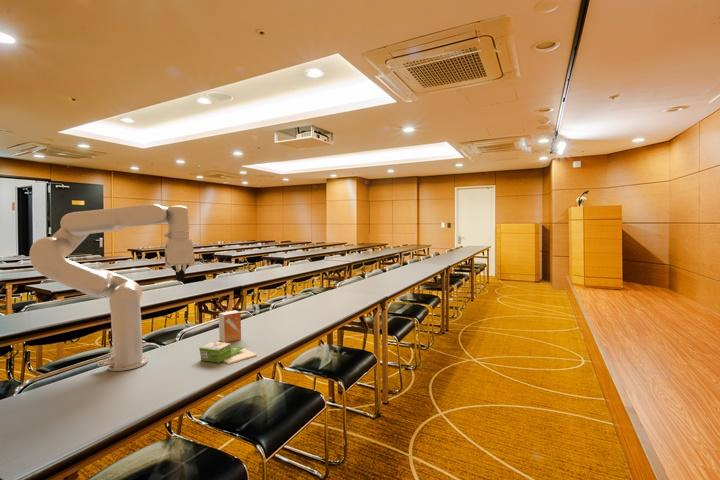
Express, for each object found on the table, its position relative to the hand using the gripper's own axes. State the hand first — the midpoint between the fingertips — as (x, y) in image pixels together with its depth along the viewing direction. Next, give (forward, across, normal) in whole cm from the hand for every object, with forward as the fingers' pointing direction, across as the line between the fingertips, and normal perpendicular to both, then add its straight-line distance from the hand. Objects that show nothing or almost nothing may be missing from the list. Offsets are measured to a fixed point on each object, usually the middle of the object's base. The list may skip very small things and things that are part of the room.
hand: (180, 281), depth 143 cm
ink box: (+28, +4, -15) cm, 33 cm away
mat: (+31, +14, -16) cm, 38 cm away
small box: (+31, +23, +6) cm, 39 cm away
